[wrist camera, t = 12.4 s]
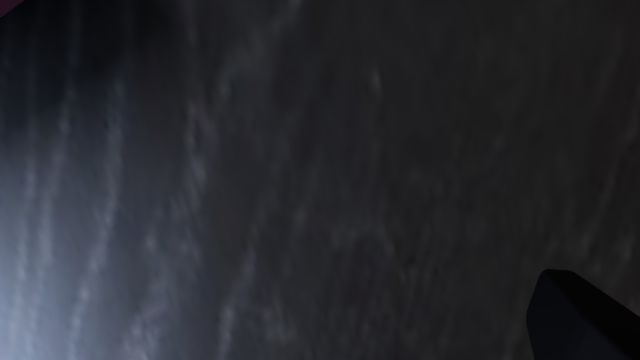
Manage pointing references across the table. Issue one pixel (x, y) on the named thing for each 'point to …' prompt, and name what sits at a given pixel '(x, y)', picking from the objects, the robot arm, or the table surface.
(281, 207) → the table surface
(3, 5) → the cup
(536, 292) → the robot arm
